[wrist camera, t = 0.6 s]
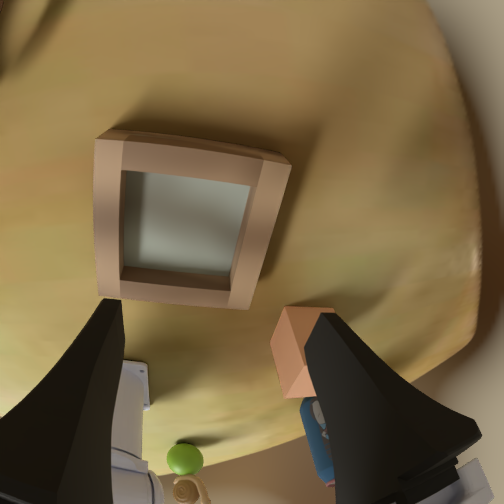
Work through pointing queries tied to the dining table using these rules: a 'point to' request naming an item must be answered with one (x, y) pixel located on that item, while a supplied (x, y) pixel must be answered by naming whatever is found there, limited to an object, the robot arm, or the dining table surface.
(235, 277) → the walnut base
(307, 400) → the soda can
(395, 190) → the dining table surface
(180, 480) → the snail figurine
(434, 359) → the dining table surface
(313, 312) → the terracotta block
